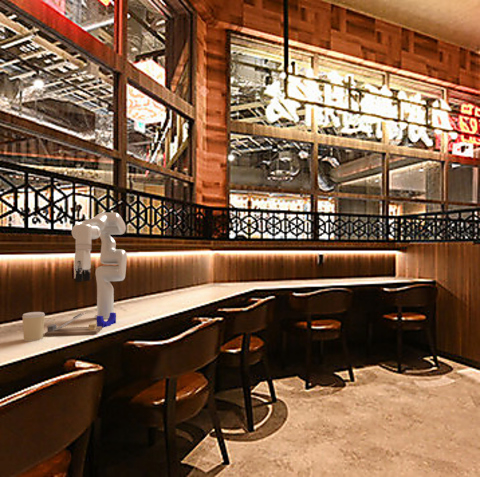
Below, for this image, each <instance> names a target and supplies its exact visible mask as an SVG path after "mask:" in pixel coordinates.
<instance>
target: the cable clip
mask: <svg viewBox="0 0 480 477" xmlns="http://www.w3.org/2000/svg"><path fill="white" fill-rule="evenodd" d="M96 323H97V326H102V329H103V328H107V327H110V326H112V325H114V324H116V323H117V313H116V312H114V313H110V316H109V319H106V321H105V319H103V316H97V319H96Z"/></svg>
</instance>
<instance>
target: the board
mask: <svg viewBox="0 0 480 477" xmlns="http://www.w3.org/2000/svg"><path fill="white" fill-rule="evenodd" d="M57 326H58V324H49V325H48V326H47V331H46V332H44V337H59V336H61V337H64V336H67V337H68V336H86V335H87V336H89V335H92V336H93V335H97V334H98V333H100V332H101V330H103V328H102V326H97V322H95V323H94V322H93V323H92V322H91V323H89V324H88V326H74V327H73V326H70V327H69V326H67V327H65V326H64V327H62V328H60V329H58V330H57V331H55V329H56V328H58V327H57Z"/></svg>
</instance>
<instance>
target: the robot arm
mask: <svg viewBox="0 0 480 477" xmlns="http://www.w3.org/2000/svg"><path fill="white" fill-rule="evenodd" d="M126 230H127V228H126V223H125V221H124V220H123V218H122V216H121V215H120V214H119V213H118V212H100V213H98V214H96V215H95V216H94V217H93V218H89V219H86V220H83V221H82V220H81V221H79V222H77V223H76V224H74V225H73V227H72V229H71V235H72V237H73V239H74V240H75V255H74V260H73V261H74V263H73V269H74V272H75V282H76V283H82V282H89V281H91V268H92V257H91V252H92V240H97V239H99V238H100V240H101V247H100V254H99V259H100V260H99V261H100V263H101V264H103V265H101V266H98V267H97V268H96V269H95V279H96V290H97V291H96V300H97V301H96V307H97V308H96V312H97V313H96V314H95V316H94V317H93V318H94V319H96V320H97V316H103V319H104V320H108V319H109V316H110V313H115V312H114V310H115V308H114V307H115V305H114V302H115V301H114V299H115V298H114V297H115V295H114V294H115V292H114V291H115V289H114V286H113V285H112V283H111V282H123V281H124V280H125V278H126V272H127V271H126V270H127V262H128V261H127V260H128V255H127V254H128V253H127V251H126V250H124V249H122V248H121V249H120V248H119V249H118V248H116V247H117V246H116V245H117V243H116V240H115V239H114V237H112V236H113V235H115V236H116V235H120V236H121V235H123V234H125V233H126ZM111 235H112V236H111ZM83 272H84V273H83Z"/></svg>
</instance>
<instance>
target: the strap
mask: <svg viewBox="0 0 480 477" xmlns="http://www.w3.org/2000/svg"><path fill="white" fill-rule="evenodd" d="M85 314H86V311H84V312H82V313H81V312H80V313H78V314H77V315H76V316H74V317H72V319H70V320H68V321H66V322H65V323H63V324H61V325H60V326H58V327H57V328H56V329H55V331H57V330H58V329H60V328H65V326H67V325H69V324H70V323H72V322H74V321H76V320H77V319H79V318H81V317H82V316H85Z"/></svg>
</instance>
